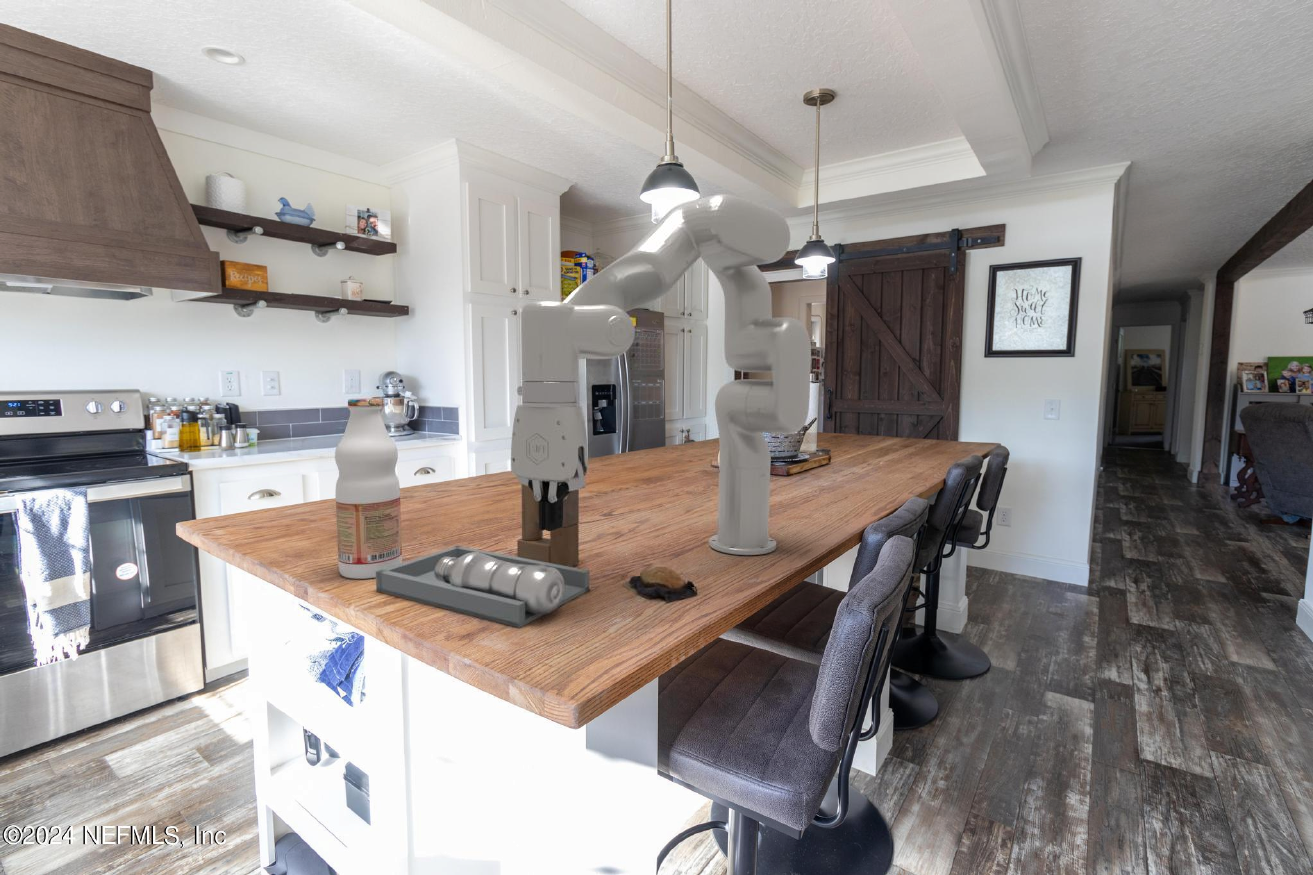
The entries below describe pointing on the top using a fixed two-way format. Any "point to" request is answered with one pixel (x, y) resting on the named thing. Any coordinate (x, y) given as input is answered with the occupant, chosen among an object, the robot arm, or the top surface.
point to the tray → (423, 587)
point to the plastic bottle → (504, 580)
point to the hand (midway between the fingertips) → (551, 528)
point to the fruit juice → (367, 494)
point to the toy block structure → (561, 541)
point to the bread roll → (661, 585)
